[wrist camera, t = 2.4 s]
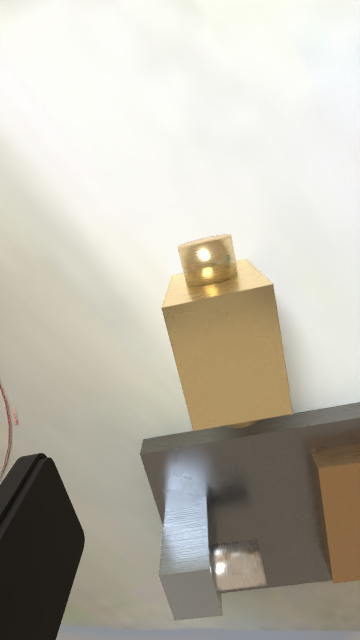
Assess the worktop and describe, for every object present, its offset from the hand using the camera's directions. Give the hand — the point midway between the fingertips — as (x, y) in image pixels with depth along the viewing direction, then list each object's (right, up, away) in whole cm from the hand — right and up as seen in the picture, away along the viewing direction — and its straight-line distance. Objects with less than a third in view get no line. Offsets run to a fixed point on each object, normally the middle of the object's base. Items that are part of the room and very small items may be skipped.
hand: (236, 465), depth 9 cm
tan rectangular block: (+1, +4, +12) cm, 13 cm away
